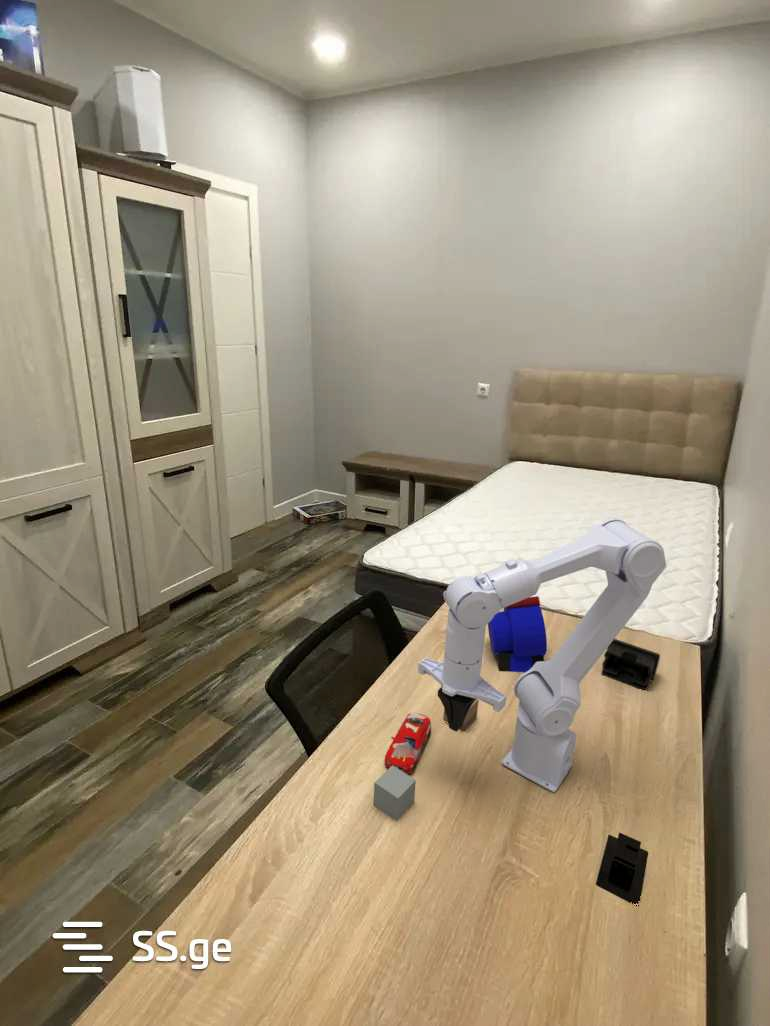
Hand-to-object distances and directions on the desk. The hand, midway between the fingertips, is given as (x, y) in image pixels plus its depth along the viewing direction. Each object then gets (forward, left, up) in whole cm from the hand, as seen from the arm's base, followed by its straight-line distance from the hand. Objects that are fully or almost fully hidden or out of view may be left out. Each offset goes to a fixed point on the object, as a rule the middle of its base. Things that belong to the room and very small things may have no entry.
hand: (455, 726), depth 90 cm
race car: (+9, 0, -10) cm, 13 cm away
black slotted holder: (-15, -48, -10) cm, 51 cm away
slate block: (+3, +11, -10) cm, 15 cm away
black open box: (-27, -1, -10) cm, 29 cm away
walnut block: (+5, -12, -10) cm, 16 cm away
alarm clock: (+7, -38, -10) cm, 40 cm away
